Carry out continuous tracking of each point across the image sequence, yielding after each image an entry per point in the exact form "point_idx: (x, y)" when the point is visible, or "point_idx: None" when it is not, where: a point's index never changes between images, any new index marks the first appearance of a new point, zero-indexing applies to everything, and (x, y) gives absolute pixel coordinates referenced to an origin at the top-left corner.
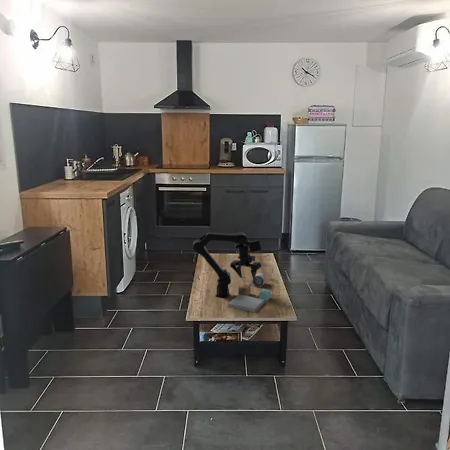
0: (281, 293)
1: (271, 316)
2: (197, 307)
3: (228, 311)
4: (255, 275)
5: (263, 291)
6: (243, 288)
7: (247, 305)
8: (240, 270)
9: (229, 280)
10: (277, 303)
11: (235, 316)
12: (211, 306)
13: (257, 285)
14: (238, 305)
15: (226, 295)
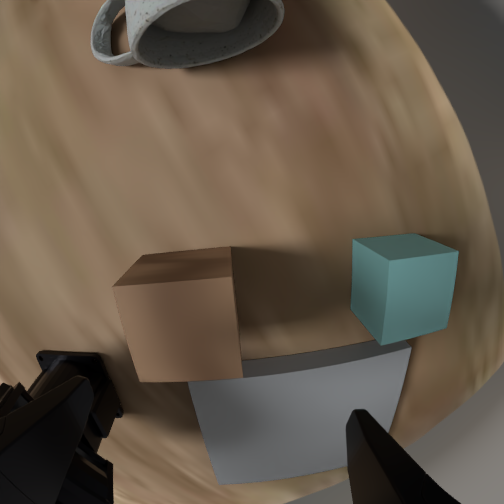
0: (444, 106)
1: (446, 415)
2: (116, 496)
3: (251, 489)
4: (402, 452)
5: (413, 315)
6: (199, 376)
7: (332, 457)
8: (16, 461)
9: (96, 500)
10: (466, 286)
11: (303, 495)
12: (150, 485)
13: (193, 36)
14: (284, 478)
15: (116, 408)
